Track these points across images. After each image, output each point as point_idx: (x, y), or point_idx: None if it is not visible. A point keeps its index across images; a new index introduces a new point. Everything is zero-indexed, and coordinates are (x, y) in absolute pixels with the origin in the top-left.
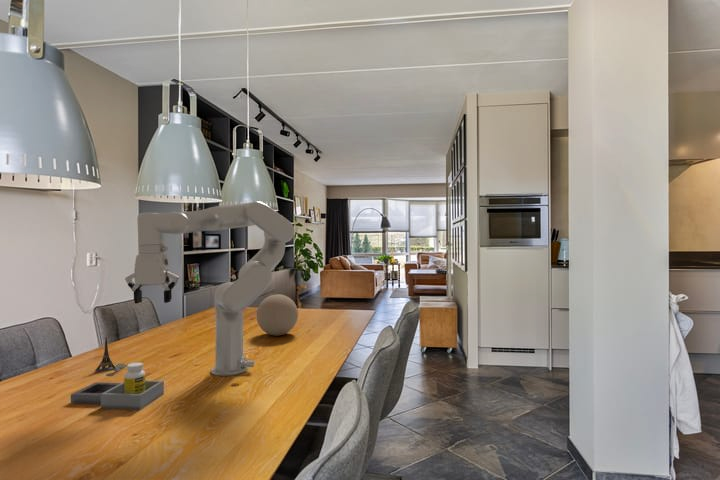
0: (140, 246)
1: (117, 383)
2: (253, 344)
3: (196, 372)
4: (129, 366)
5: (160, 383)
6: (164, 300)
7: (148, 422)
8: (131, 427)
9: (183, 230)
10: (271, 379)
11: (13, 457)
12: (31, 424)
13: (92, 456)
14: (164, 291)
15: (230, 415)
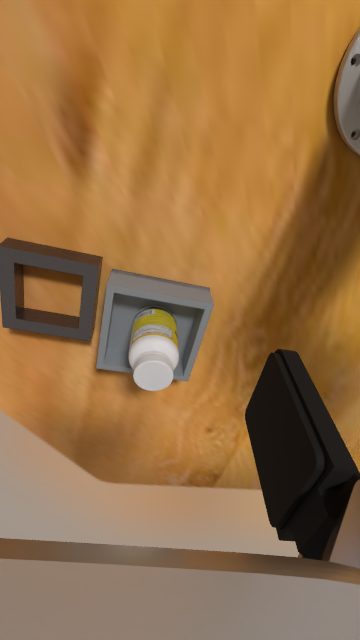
0: None
1: (73, 264)
2: None
3: (277, 84)
4: (145, 389)
5: (209, 317)
6: (253, 434)
7: (217, 403)
8: (195, 414)
9: None
10: None
11: (81, 462)
12: (19, 393)
13: (177, 465)
14: (280, 531)
15: (347, 393)
